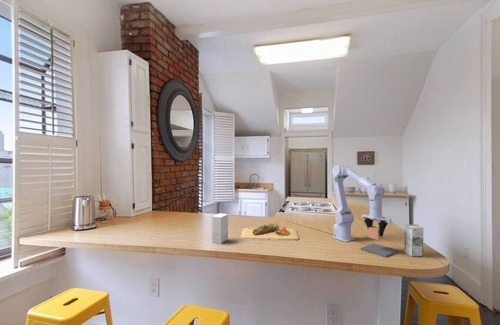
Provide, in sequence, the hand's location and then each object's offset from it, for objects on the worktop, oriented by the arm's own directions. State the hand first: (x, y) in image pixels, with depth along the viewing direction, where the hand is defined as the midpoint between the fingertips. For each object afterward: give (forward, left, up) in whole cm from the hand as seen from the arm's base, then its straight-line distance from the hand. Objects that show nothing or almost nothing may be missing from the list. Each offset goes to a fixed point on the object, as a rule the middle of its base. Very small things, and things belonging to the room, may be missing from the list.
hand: (375, 234), depth 130 cm
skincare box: (-62, -56, -9) cm, 84 cm away
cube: (0, 0, -2) cm, 2 cm away
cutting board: (-56, -24, -9) cm, 62 cm away
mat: (+1, +2, -8) cm, 9 cm away
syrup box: (+14, +10, -9) cm, 19 cm away
